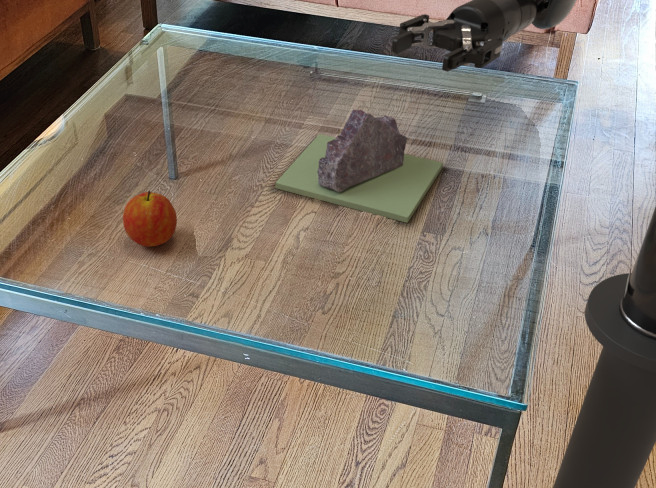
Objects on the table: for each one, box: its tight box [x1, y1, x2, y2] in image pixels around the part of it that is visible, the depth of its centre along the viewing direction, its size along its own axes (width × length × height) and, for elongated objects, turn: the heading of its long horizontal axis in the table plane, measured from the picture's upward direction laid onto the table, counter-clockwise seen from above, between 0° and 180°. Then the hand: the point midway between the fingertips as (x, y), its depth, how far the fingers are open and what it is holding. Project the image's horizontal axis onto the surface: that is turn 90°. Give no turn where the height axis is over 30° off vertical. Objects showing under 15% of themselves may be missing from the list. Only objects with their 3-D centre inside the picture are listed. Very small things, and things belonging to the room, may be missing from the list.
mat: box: [275, 133, 444, 224], centre depth 123 cm, size 20×16×1 cm
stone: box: [317, 108, 408, 192], centre depth 119 cm, size 10×6×15 cm
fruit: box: [122, 190, 178, 248], centre depth 109 cm, size 7×7×8 cm
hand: (419, 55), depth 116 cm, fingers open, 8 cm apart
